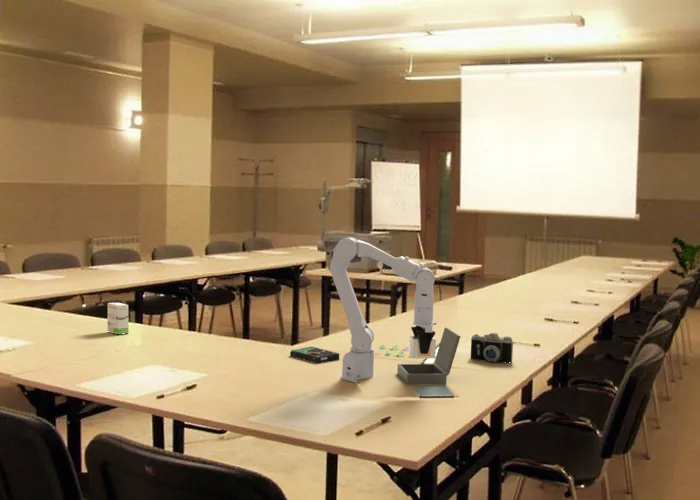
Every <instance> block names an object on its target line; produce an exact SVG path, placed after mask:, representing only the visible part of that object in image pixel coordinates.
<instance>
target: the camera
mask: <svg viewBox="0 0 700 500" xmlns="http://www.w3.org/2000/svg"><path fill="white" fill-rule="evenodd" d="M470 341H471V343H470V360H473V361H481V360H484V362H490V361H493V362H492V363H499V362H506V363H505V364H507V363H508V364H510V363H509V362H511V363H513V355H514V342H513V338H512V337H511V336H506V335H505V336H503V337H500V336H499V334H498V332H497V333H496V332H490V333H488V334H484V335H479V334H477V333H475V334H474V335H472V336H471V338H470ZM495 361H496V362H495Z"/></svg>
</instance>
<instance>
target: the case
mask: <svg viewBox="0 0 700 500" xmlns="http://www.w3.org/2000/svg"><path fill="white" fill-rule="evenodd" d="M460 340H461V335H459V334H458V333H456V332H455V331H453V330H452V329H450V328H448V327H444V329H443V332H442V337H441V339H440V342H438V343H437V344H436V349H437V348H438V347H439V349H438V352H437V355H436V357H435V360H434V362H433V363H424V362H425V361H426V360H427V359H428V358H423V361H420V363H398V364H397V375H398V376H399V377H400V378H401V379H402V380H403V382H404V383H405V384H406V385H408V386H409V385H412V386H417V385H447V378H448V377H447V376H449V375H450V373H451V369H452V366H453V363H454V359H455V355H456V353H457V349H458V346H459V343H460Z"/></svg>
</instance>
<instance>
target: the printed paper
mask: <svg viewBox="0 0 700 500" xmlns="http://www.w3.org/2000/svg"><path fill="white" fill-rule="evenodd" d="M398 348H400V347H399V346H397V344H394V345H393V347H389V350H387V351H386V352H385V353H384V355H386V356H389V355H392V352H391V350H392V351H397V350H398ZM379 349H381V350H383V349H386V346H385V344H383V345H382V344H381V346H380V347H379ZM438 349H439V347H438V348H437V349H436V352H435V358H428V359H427V360H426V361H425V362H424V364H433V363H434V362H435V359H436V355H437V352H438ZM404 351H405V352H406V351H407V352H408V351H409V348H408V346H405V347H404V348H403V349H402V350H400V351H399V352H398V353H397V354H396V353H395V354H394V353H393V356H397V357H398V358H401V357H402V356H406V354H405V353H404ZM380 355H382V354H381V352H380V351H379V350H378V351H377V352H375V356H380ZM408 357H409V358H412V357H411V356H410V355H408V356H407V358H408Z"/></svg>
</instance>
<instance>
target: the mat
mask: <svg viewBox="0 0 700 500" xmlns="http://www.w3.org/2000/svg"><path fill="white" fill-rule="evenodd" d="M412 388H413V389H414V390H415V391H416V392H417V393H418V394H419V395H418V396H417V397H418V398H419V399H455V394H454V392H452V391H451V390H450V389H449V388H448V387H447V385H412Z"/></svg>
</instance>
